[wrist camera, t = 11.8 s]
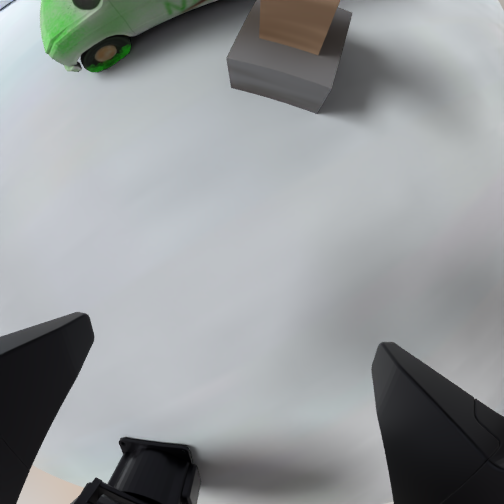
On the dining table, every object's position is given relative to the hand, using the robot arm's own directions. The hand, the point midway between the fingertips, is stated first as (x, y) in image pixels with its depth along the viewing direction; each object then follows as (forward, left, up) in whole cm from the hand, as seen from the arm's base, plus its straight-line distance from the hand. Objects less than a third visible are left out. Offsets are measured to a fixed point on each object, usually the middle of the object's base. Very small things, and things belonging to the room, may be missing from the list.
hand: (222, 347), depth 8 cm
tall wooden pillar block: (+4, +15, -11) cm, 19 cm away
